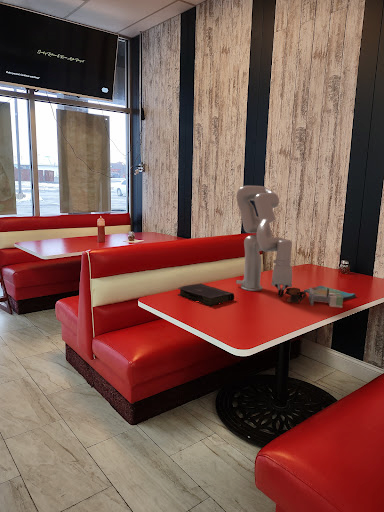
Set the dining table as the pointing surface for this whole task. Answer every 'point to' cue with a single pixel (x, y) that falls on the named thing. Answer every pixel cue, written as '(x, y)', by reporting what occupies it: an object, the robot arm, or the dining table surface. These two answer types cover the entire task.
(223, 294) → the diary
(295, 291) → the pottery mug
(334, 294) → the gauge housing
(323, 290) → the dish towel
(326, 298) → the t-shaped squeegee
